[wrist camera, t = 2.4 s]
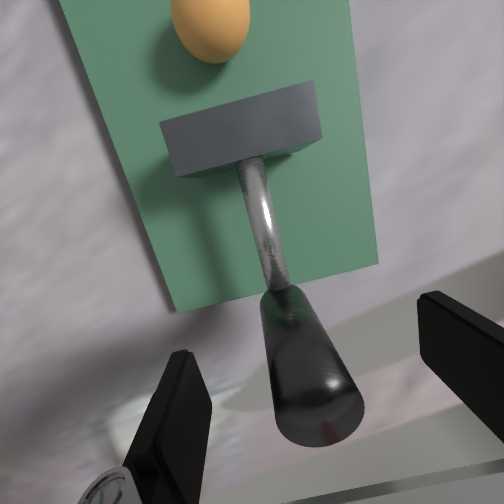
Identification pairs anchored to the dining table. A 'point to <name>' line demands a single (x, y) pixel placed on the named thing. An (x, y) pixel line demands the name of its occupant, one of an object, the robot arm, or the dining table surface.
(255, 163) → the grey mallet
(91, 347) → the dining table surface
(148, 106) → the pitch board
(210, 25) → the ball
